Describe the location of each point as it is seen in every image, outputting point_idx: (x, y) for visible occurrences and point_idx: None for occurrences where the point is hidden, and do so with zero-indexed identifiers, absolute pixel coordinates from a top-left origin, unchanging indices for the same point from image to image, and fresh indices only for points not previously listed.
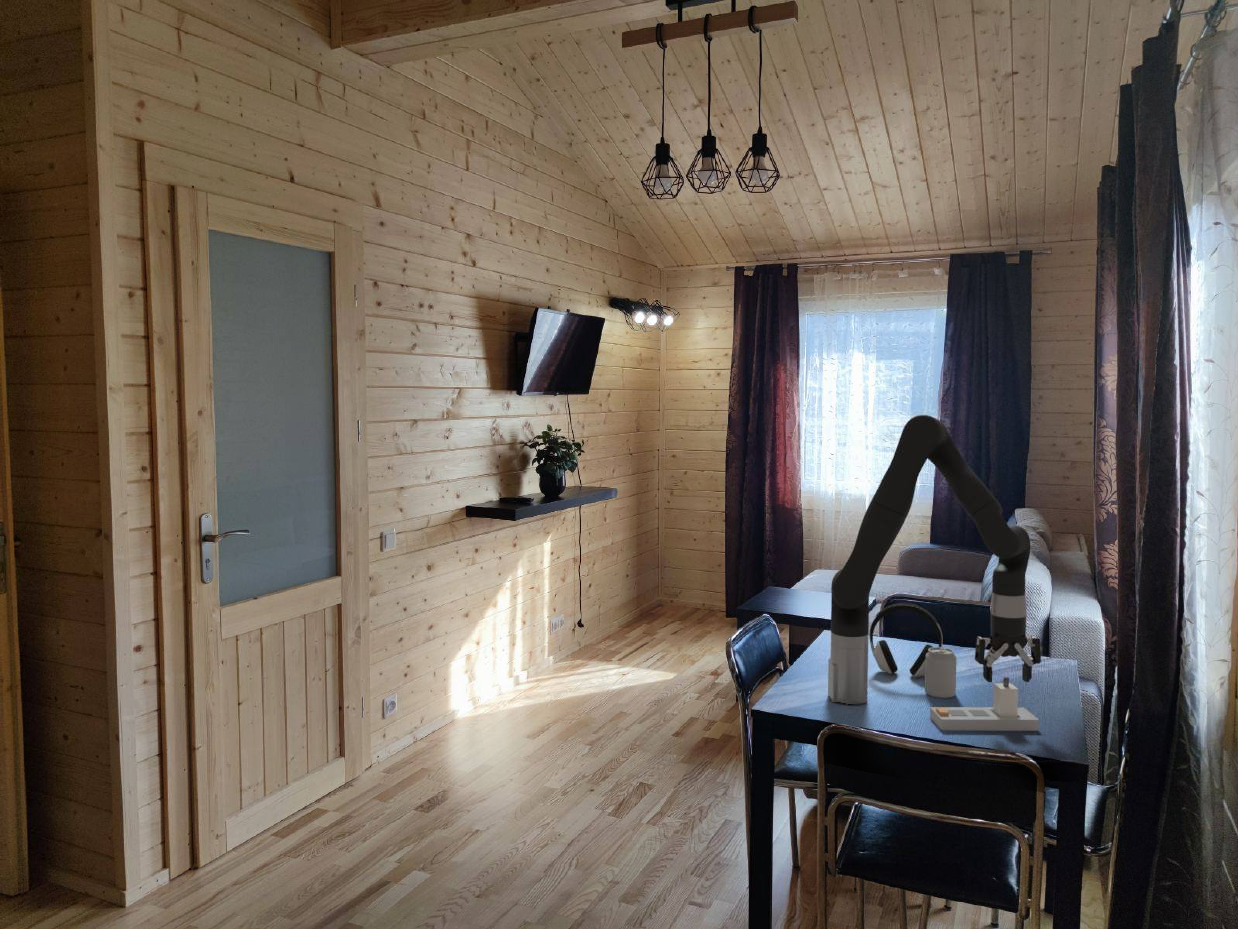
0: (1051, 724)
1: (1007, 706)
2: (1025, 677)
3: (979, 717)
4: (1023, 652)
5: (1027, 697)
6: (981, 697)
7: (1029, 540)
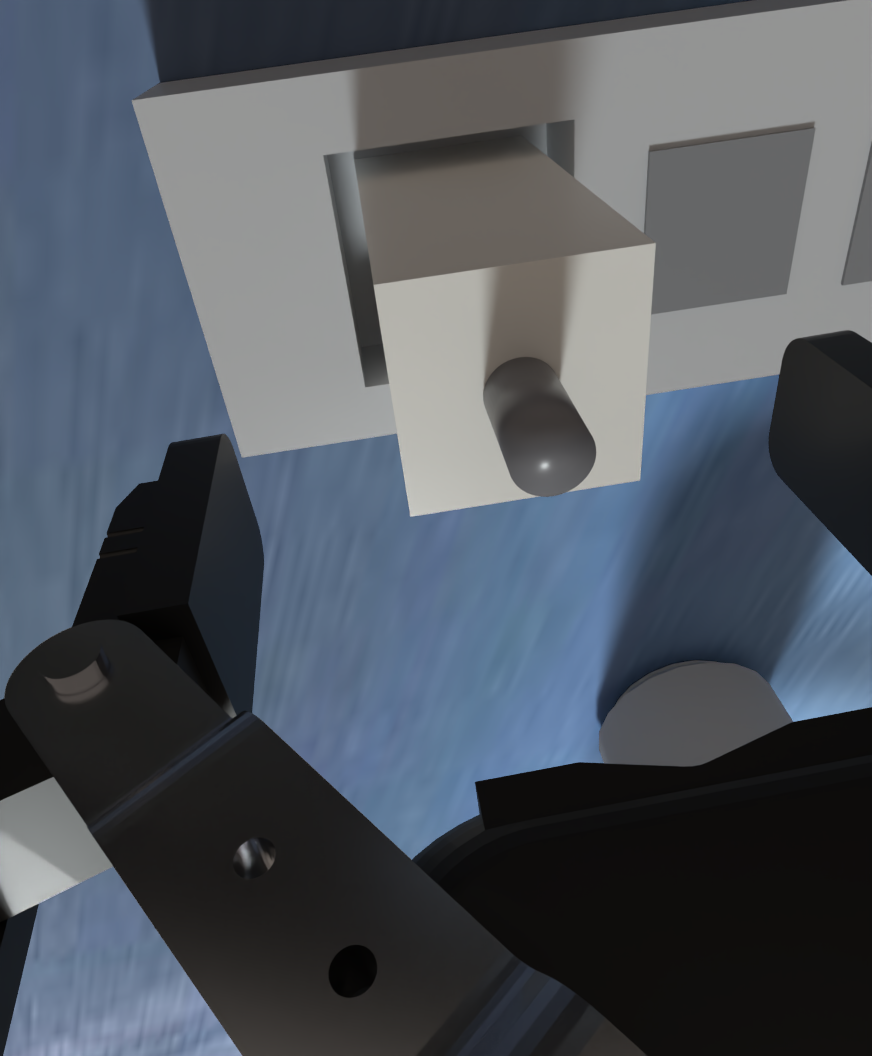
0: (23, 342)
1: (487, 195)
2: (227, 495)
3: (781, 84)
4: (258, 940)
5: None
6: (442, 730)
7: None
